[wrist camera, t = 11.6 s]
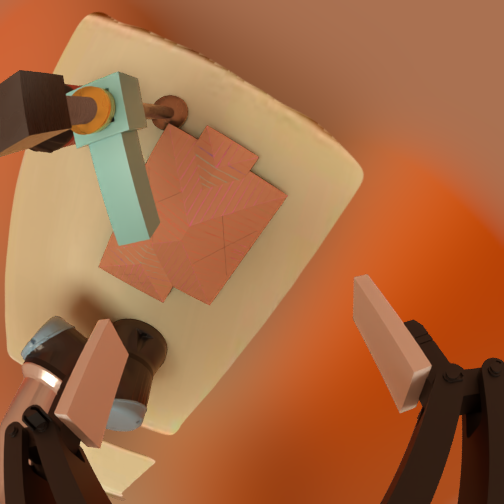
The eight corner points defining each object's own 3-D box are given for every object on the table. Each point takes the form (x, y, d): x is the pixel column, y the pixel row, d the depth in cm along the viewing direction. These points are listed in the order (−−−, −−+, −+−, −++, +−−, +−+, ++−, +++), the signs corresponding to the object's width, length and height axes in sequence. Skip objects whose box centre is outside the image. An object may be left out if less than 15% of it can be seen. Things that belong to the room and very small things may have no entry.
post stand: (191, 125, 46) (59, 155, 9) (157, 134, 46) (-21, 196, 10) (184, 92, 43) (41, 29, 7) (150, 101, 43) (-39, 90, 7)
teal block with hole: (170, 218, 28) (158, 239, 23) (125, 229, 28) (107, 250, 23) (137, 78, 22) (118, 71, 17) (91, 95, 22) (65, 93, 17)
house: (293, 178, 51) (303, 189, 44) (200, 310, 62) (196, 336, 55) (181, 108, 45) (171, 107, 37) (104, 259, 55) (89, 279, 48)
